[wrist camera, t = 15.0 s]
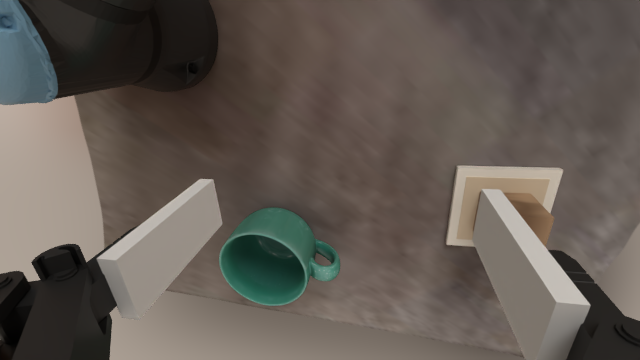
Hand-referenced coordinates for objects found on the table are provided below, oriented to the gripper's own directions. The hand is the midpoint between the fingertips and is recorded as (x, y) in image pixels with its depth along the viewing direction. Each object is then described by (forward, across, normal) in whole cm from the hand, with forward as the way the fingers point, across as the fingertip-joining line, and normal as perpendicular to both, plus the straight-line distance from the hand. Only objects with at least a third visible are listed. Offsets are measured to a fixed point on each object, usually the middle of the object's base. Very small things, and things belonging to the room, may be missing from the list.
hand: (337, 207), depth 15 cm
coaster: (+27, +18, -14) cm, 35 cm away
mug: (+27, -11, -21) cm, 36 cm away
